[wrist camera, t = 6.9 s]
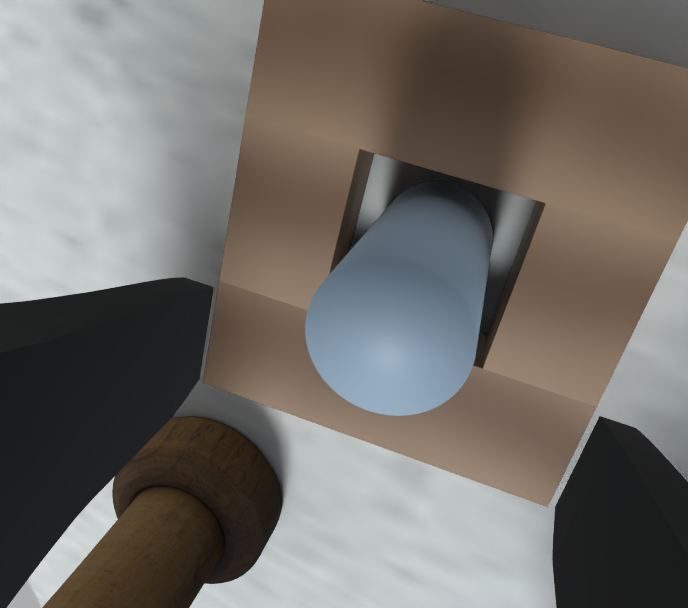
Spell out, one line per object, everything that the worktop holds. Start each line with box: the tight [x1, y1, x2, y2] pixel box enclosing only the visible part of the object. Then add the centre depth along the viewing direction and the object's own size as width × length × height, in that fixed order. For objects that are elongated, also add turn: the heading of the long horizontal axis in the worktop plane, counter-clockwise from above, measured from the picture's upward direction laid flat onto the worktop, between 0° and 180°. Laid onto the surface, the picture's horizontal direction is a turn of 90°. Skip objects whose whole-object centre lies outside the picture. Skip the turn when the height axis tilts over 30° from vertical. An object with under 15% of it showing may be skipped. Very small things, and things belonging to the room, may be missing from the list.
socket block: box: [203, 0, 688, 507], centre depth 19 cm, size 13×12×2 cm
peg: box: [305, 182, 493, 416], centre depth 17 cm, size 4×4×8 cm
